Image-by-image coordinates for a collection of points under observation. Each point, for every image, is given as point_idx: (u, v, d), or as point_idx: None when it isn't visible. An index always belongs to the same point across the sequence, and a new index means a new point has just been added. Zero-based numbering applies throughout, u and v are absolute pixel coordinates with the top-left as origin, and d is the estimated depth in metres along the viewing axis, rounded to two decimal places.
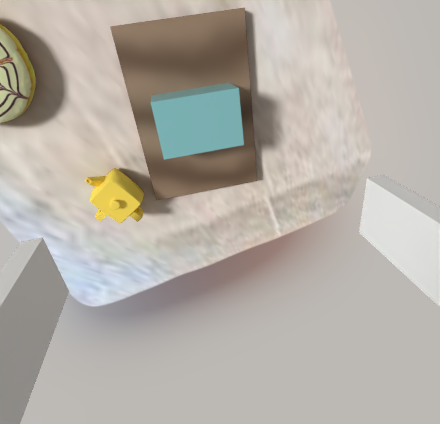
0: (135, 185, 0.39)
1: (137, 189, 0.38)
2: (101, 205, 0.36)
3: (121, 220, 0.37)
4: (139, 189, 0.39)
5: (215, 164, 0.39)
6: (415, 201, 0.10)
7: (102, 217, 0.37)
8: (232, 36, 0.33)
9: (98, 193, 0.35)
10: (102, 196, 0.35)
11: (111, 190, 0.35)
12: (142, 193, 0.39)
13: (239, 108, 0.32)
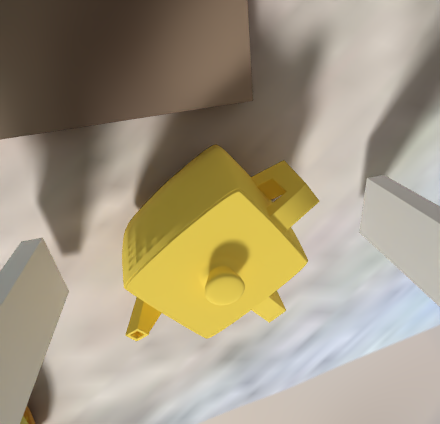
0: (182, 175, 0.11)
1: (193, 174, 0.10)
2: (226, 314, 0.10)
3: (297, 260, 0.10)
4: (198, 163, 0.10)
5: None
6: (415, 201, 0.10)
7: (272, 306, 0.11)
8: None
9: (179, 320, 0.10)
10: (190, 311, 0.10)
11: (167, 287, 0.09)
12: (213, 155, 0.10)
13: None
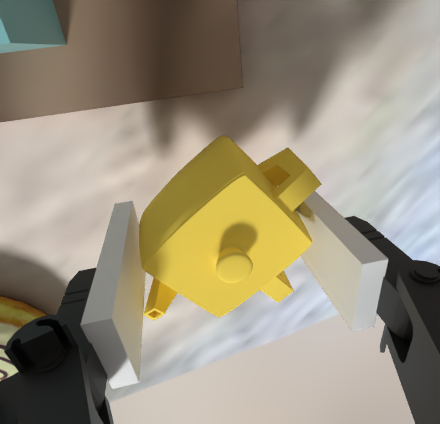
0: (192, 164, 0.11)
1: (202, 162, 0.11)
2: (236, 293, 0.11)
3: (302, 240, 0.10)
4: (207, 152, 0.11)
5: None
6: None
7: (280, 286, 0.11)
8: None
9: (192, 299, 0.11)
10: (203, 290, 0.10)
11: (181, 267, 0.10)
12: (221, 145, 0.11)
13: None
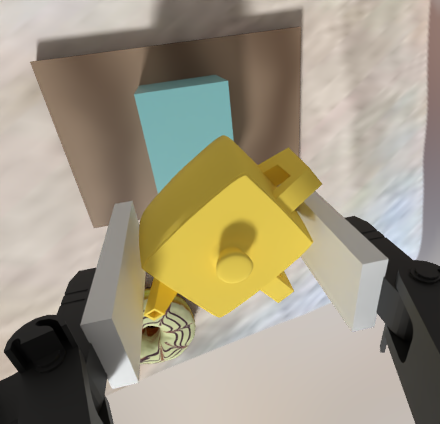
0: (193, 164, 0.11)
1: (203, 162, 0.11)
2: (237, 293, 0.11)
3: (303, 240, 0.10)
4: (207, 152, 0.11)
5: (261, 106, 0.25)
6: None
7: (281, 286, 0.11)
8: (73, 81, 0.22)
9: (192, 299, 0.11)
10: (203, 290, 0.10)
11: (181, 267, 0.10)
12: (221, 144, 0.11)
13: (166, 91, 0.19)
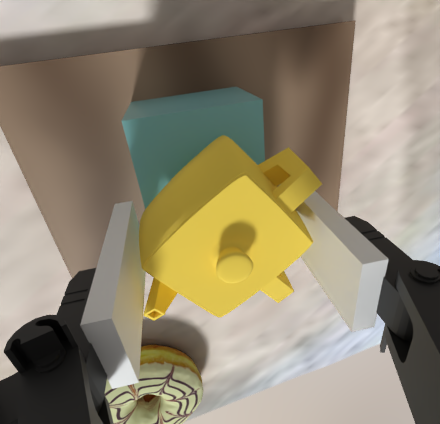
0: (193, 164, 0.11)
1: (203, 162, 0.11)
2: (237, 293, 0.11)
3: (303, 240, 0.10)
4: (207, 152, 0.11)
5: (295, 127, 0.19)
6: None
7: (281, 286, 0.11)
8: (38, 96, 0.16)
9: (192, 299, 0.11)
10: (203, 290, 0.10)
11: (181, 267, 0.10)
12: (221, 144, 0.11)
13: (171, 116, 0.13)
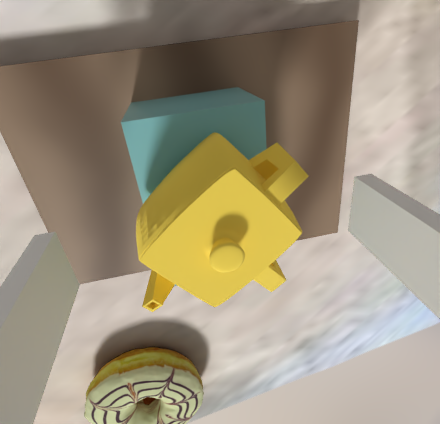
0: (186, 160, 0.12)
1: (195, 158, 0.11)
2: (231, 283, 0.11)
3: (292, 230, 0.11)
4: (200, 149, 0.11)
5: (297, 128, 0.19)
6: (399, 199, 0.11)
7: (273, 276, 0.12)
8: (37, 96, 0.15)
9: (188, 289, 0.11)
10: (198, 280, 0.11)
11: (176, 258, 0.10)
12: (213, 141, 0.11)
13: (171, 117, 0.12)
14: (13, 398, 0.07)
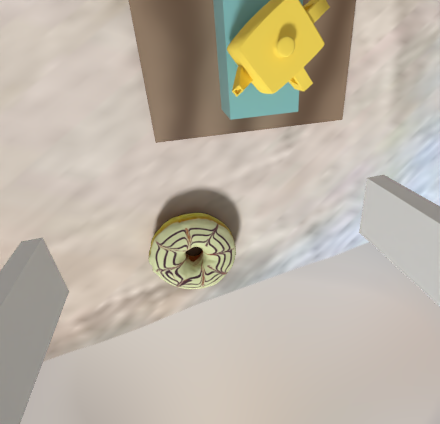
0: (259, 10, 0.21)
1: (267, 5, 0.20)
2: (283, 75, 0.20)
3: (319, 41, 0.20)
4: (268, 2, 0.21)
5: (318, 29, 0.28)
6: (415, 201, 0.10)
7: (306, 77, 0.21)
8: None
9: (260, 75, 0.20)
10: (266, 70, 0.20)
11: (257, 50, 0.19)
12: None
13: None
14: None
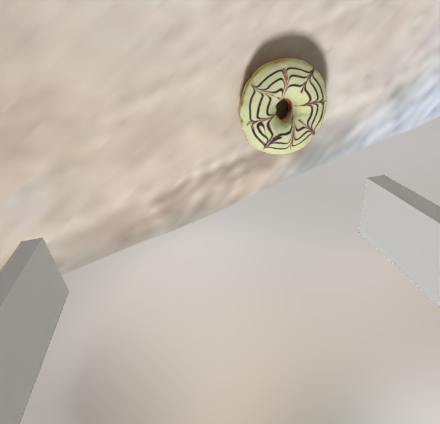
0: None
1: None
2: None
3: None
4: None
5: None
6: (415, 201, 0.10)
7: None
8: None
9: None
10: None
11: None
12: None
13: None
14: None
